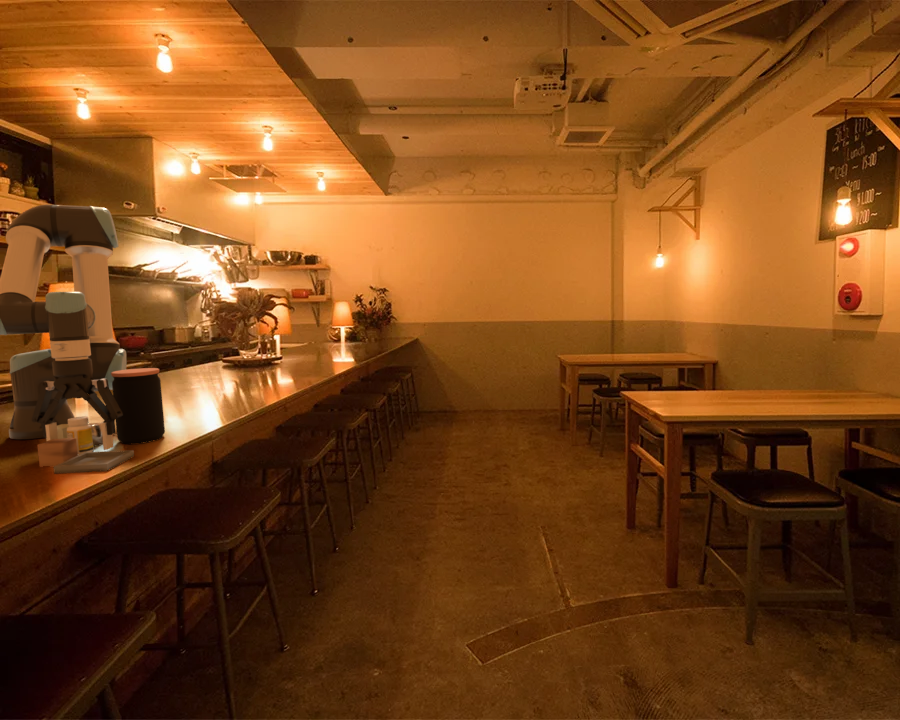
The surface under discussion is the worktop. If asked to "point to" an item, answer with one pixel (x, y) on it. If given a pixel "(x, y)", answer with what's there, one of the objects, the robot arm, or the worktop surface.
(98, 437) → the chrome cylinder
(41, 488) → the worktop surface
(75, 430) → the supplement bottle
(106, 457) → the slate tray
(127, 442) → the coffee jar
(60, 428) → the sage block
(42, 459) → the walnut block
